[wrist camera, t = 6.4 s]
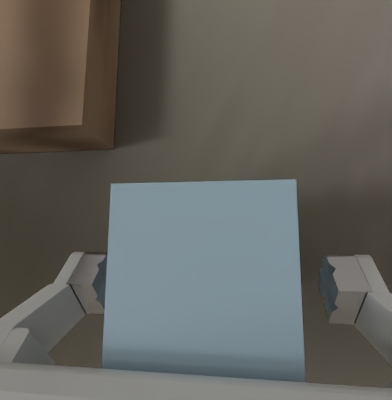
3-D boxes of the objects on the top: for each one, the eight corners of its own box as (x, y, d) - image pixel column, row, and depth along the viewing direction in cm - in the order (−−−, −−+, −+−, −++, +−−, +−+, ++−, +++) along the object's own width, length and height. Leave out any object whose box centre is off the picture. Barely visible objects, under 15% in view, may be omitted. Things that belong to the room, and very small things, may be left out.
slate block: (178, 302, 17) (101, 376, 7) (179, 217, 18) (111, 183, 8) (265, 305, 17) (306, 391, 7) (263, 216, 17) (296, 179, 8)
